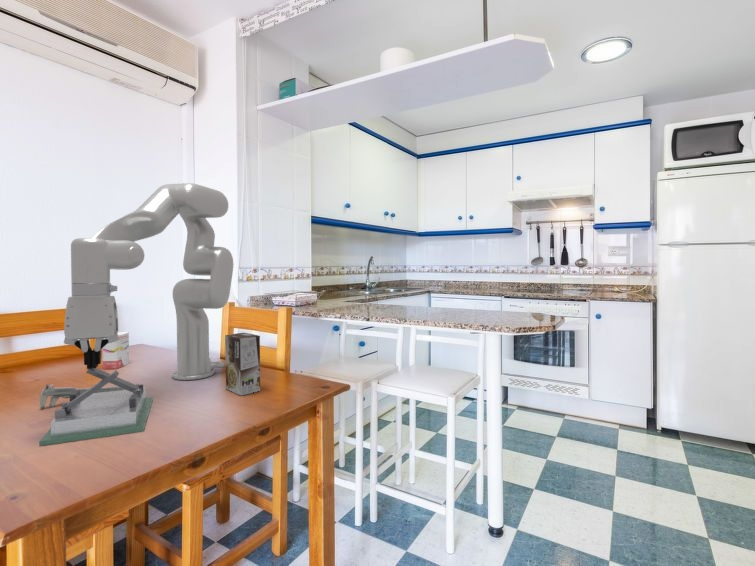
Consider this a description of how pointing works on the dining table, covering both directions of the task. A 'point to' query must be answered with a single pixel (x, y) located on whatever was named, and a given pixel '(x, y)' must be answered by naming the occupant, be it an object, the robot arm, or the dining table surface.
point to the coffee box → (242, 363)
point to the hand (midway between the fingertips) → (92, 367)
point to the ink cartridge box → (116, 352)
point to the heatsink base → (100, 416)
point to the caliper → (66, 393)
